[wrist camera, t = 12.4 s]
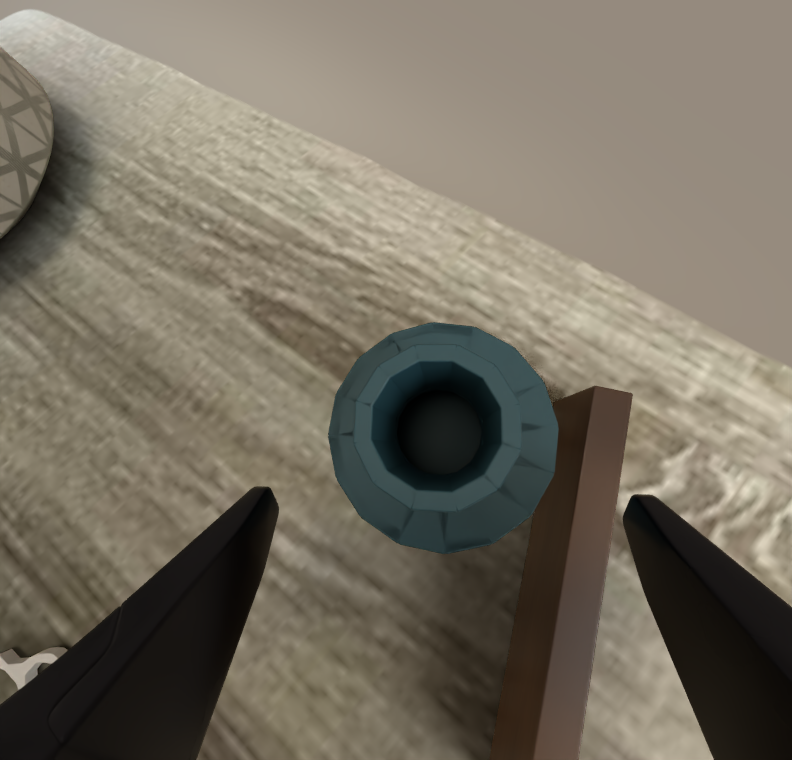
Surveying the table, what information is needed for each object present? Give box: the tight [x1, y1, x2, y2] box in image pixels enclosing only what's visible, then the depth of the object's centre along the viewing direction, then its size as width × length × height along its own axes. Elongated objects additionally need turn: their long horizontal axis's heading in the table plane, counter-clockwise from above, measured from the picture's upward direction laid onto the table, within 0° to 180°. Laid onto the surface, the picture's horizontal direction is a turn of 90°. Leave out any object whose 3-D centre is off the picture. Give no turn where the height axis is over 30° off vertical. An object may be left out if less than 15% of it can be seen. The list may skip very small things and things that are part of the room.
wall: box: [489, 386, 633, 760], centre depth 16 cm, size 19×2×6 cm, turn 166°
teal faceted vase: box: [328, 322, 559, 554], centre depth 14 cm, size 7×7×14 cm
